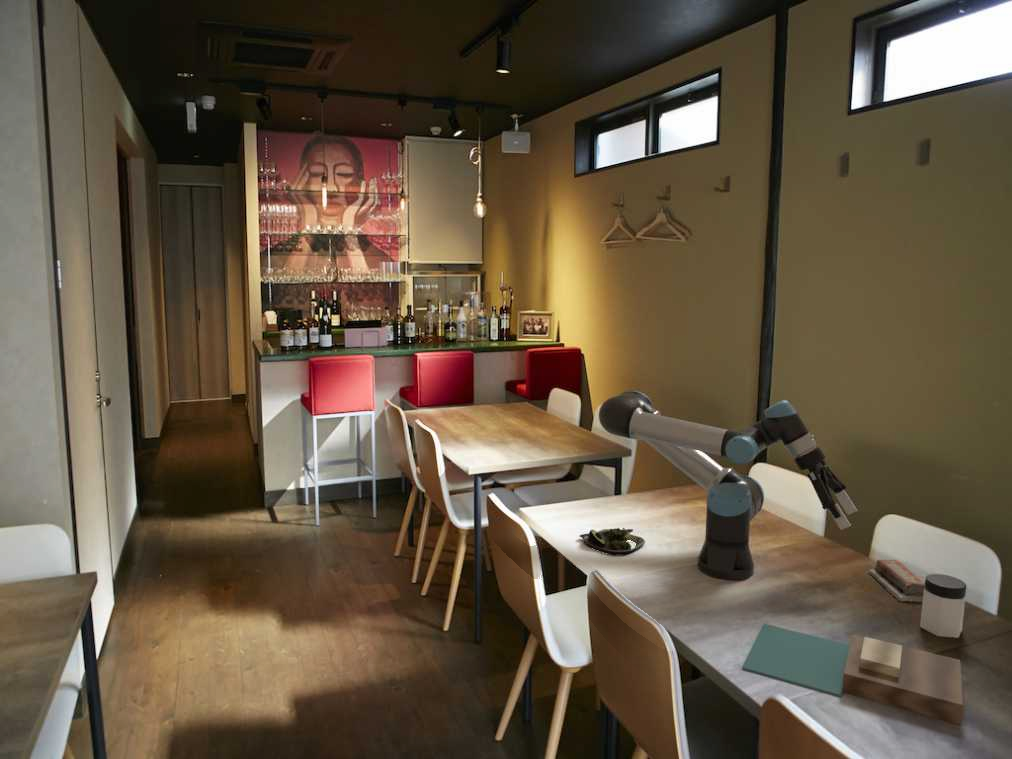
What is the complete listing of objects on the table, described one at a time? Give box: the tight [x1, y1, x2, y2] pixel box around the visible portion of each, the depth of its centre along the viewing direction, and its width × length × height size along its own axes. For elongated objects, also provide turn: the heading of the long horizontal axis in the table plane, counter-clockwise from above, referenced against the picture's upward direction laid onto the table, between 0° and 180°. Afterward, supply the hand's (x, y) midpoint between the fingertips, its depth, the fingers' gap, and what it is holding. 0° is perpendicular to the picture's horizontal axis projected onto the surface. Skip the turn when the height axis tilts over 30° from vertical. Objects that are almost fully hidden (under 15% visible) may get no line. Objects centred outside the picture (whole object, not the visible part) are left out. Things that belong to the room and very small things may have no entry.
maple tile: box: [860, 636, 903, 678], centre depth 145 cm, size 7×10×2 cm
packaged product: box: [868, 559, 925, 603], centre depth 189 cm, size 18×5×10 cm
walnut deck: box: [842, 634, 964, 726], centre depth 144 cm, size 20×18×4 cm
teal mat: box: [741, 623, 850, 697], centre depth 154 cm, size 19×22×1 cm
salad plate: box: [579, 527, 646, 556], centre depth 219 cm, size 19×18×5 cm
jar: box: [919, 573, 967, 639], centre depth 166 cm, size 9×8×12 cm
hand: (849, 520), depth 194 cm, fingers open, 13 cm apart
